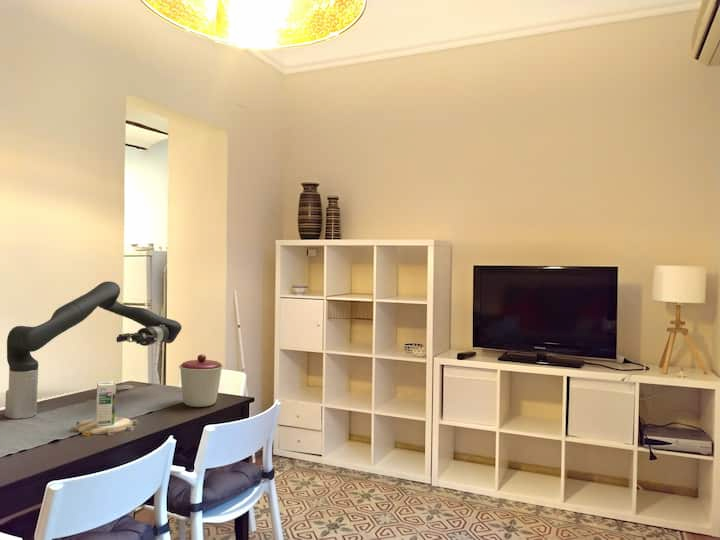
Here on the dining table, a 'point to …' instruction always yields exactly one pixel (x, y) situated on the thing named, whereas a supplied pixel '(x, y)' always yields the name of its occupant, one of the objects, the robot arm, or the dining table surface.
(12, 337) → the robot arm
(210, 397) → the canister
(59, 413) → the dining table surface
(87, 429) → the sprocket
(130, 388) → the caliper
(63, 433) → the dining table surface
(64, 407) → the dining table surface
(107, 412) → the syrup box
